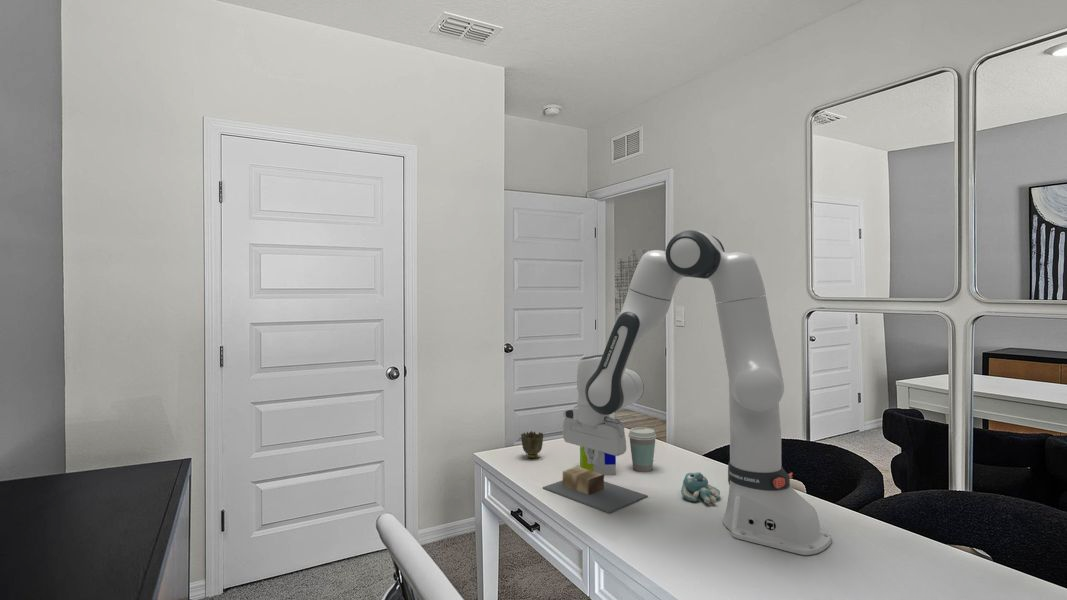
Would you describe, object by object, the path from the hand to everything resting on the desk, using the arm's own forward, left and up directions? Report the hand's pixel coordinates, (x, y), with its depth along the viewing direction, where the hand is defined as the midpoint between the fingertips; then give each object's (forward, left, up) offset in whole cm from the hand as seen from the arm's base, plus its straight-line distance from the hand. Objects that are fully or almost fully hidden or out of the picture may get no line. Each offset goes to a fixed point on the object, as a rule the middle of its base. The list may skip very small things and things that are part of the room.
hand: (593, 464), depth 148 cm
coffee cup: (+3, -26, -8) cm, 27 cm away
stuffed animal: (-22, -18, -8) cm, 29 cm away
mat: (0, 0, -8) cm, 8 cm away
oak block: (-1, 0, -5) cm, 5 cm away
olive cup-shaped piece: (+35, -9, -8) cm, 37 cm away
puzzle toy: (+12, -15, -8) cm, 21 cm away
